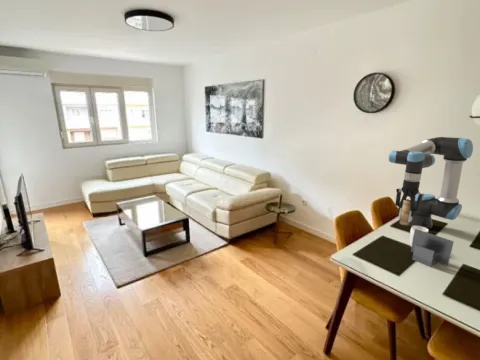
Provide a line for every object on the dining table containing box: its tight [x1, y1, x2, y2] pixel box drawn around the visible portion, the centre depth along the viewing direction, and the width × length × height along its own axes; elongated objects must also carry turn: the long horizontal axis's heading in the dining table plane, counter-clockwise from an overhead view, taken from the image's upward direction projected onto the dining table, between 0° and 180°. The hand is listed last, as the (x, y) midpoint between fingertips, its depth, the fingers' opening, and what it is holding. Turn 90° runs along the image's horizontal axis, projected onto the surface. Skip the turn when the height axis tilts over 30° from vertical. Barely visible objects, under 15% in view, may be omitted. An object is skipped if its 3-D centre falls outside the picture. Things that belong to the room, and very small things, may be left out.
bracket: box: [410, 229, 455, 268], centre depth 143 cm, size 10×18×14 cm, turn 34°
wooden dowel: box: [399, 198, 411, 226], centre depth 147 cm, size 4×4×14 cm
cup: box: [409, 226, 430, 248], centre depth 158 cm, size 9×9×12 cm
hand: (404, 219), depth 148 cm, fingers closed on wooden dowel, 4 cm apart
